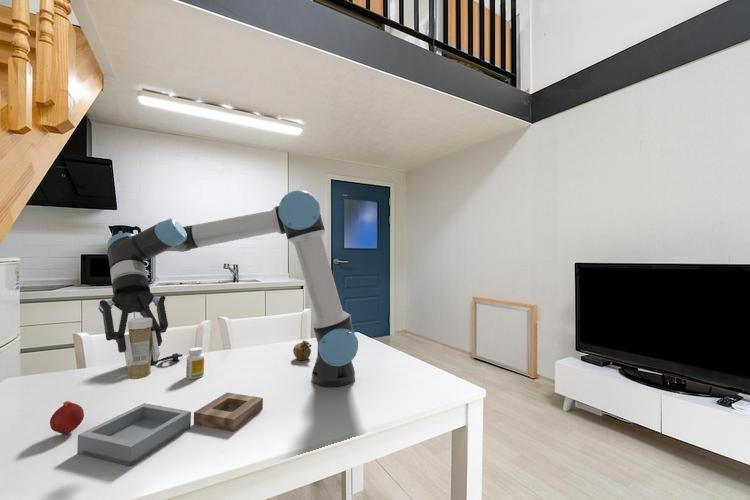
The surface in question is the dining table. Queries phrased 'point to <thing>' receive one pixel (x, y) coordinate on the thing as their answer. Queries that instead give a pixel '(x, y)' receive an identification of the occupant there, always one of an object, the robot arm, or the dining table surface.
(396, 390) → the dining table surface
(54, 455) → the dining table surface
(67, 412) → the onion
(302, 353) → the onion
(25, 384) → the dining table surface
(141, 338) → the sprinkles bottle
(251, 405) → the walnut holder
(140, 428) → the grey tray
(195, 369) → the supplement bottle
